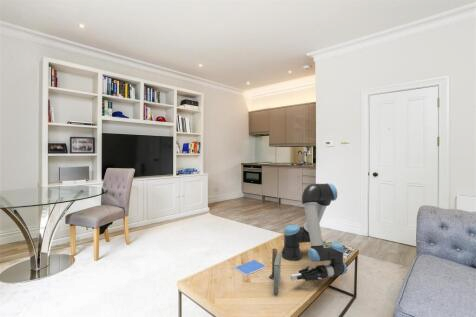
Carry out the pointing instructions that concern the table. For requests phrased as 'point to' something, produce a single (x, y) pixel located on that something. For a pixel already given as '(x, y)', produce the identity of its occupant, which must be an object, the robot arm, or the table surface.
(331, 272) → the robot arm
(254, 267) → the tablet computer
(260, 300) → the table surface
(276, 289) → the panel
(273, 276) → the hinge post
